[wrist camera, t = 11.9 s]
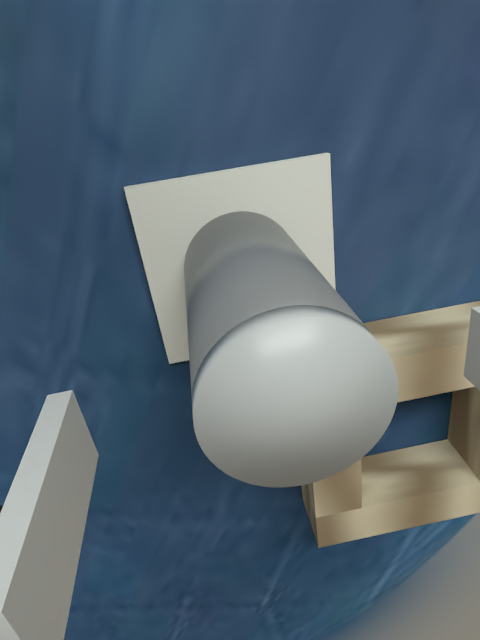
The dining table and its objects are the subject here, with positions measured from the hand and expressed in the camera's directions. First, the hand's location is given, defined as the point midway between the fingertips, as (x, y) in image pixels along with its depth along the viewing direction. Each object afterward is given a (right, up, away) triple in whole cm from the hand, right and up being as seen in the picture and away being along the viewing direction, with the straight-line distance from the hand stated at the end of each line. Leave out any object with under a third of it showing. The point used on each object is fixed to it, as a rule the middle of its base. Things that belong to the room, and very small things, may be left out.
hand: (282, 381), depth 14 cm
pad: (-1, +5, +9) cm, 11 cm away
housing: (+9, -4, +15) cm, 18 cm away
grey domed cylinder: (-1, +5, +9) cm, 10 cm away
